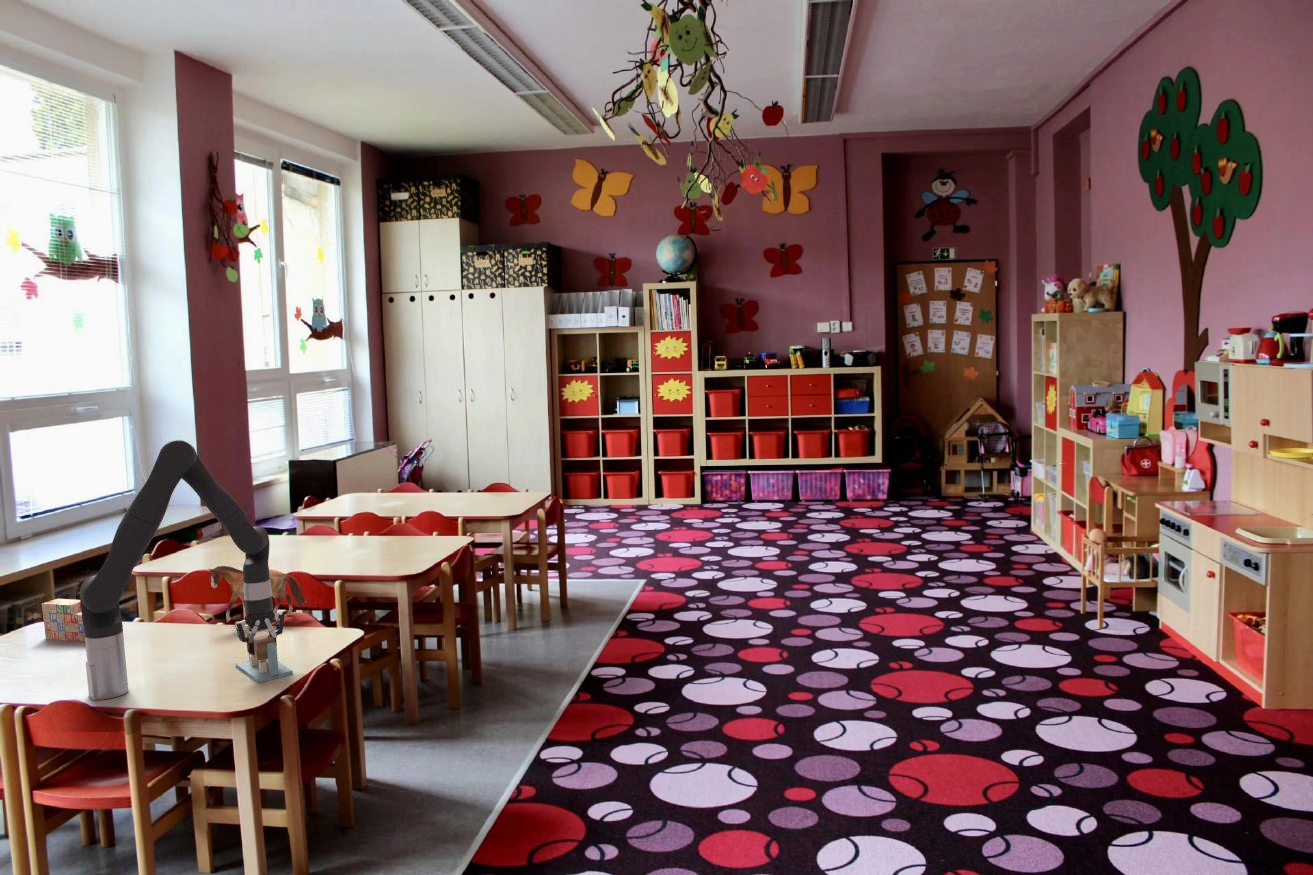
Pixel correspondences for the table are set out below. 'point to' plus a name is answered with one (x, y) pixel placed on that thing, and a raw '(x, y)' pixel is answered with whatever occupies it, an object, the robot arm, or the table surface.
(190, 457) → the robot arm
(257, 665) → the peg stand
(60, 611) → the stack of blocks
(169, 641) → the table surface
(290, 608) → the horse figurine
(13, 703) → the table surface
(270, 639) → the brown wooden block
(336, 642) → the table surface
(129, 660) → the table surface
